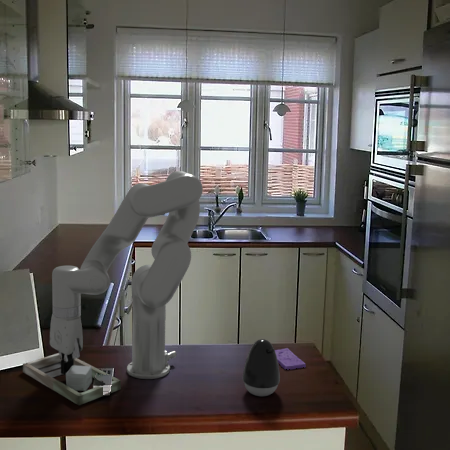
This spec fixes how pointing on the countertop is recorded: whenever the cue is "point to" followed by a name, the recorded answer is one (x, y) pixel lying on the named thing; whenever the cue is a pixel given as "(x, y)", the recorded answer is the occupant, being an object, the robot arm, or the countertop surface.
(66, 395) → the rectangular open frame tray
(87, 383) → the small box
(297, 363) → the sponges
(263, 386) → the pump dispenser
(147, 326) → the robot arm
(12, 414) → the countertop surface
